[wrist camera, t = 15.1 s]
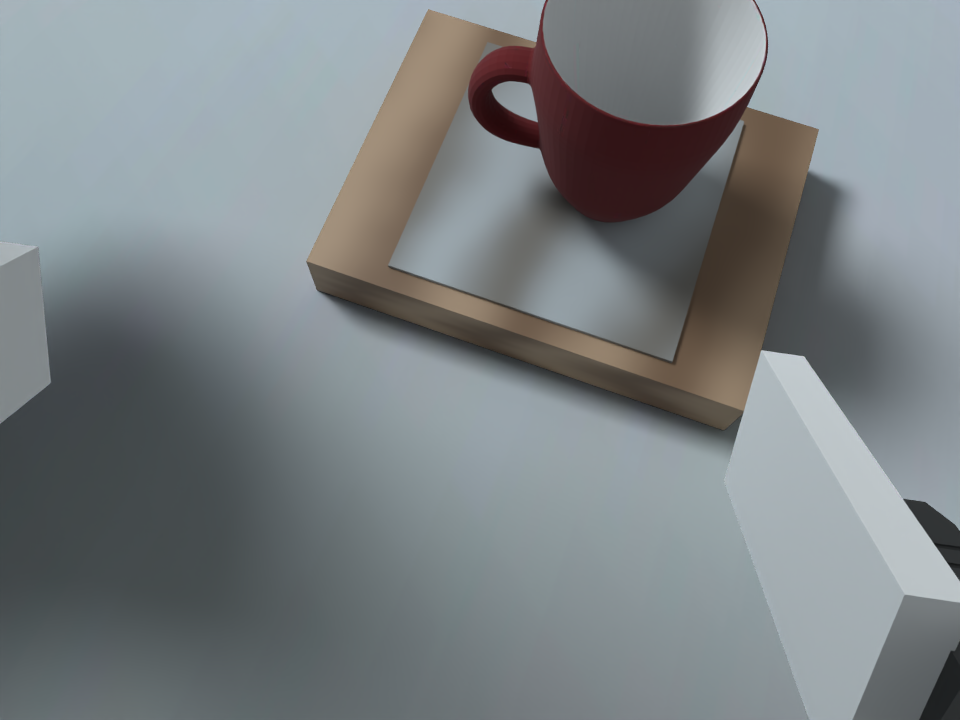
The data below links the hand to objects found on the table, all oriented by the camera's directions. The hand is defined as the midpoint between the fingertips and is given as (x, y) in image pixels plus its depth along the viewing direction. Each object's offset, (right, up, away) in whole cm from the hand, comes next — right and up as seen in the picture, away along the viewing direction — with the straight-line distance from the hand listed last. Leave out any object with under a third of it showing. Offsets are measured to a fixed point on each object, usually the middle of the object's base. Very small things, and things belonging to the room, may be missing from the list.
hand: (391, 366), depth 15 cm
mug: (+6, +8, +24) cm, 26 cm away
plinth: (+6, +7, +26) cm, 28 cm away
